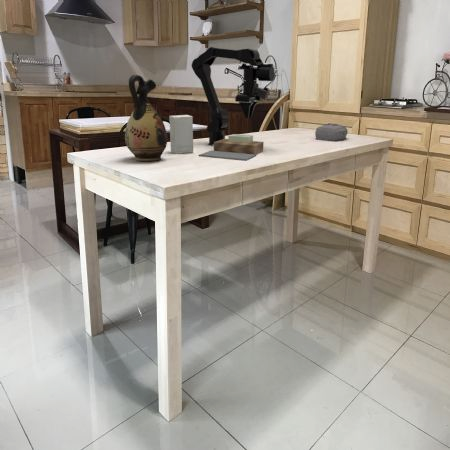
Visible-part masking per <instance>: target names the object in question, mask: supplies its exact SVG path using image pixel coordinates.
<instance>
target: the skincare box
mask: <svg viewBox="0 0 450 450" xmlns="http://www.w3.org/2000/svg"><path fill="white" fill-rule="evenodd" d="M193 118H194V116H192V115H189V114H179V115H169V137H170V139H169V141H170V152H171V153H173V154H187V153H188V154H189V153H194V128H193Z"/></svg>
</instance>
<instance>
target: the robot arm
mask: <svg viewBox="0 0 450 450" xmlns="http://www.w3.org/2000/svg"><path fill="white" fill-rule="evenodd" d="M217 58H220V59H221V58H222V59H231V60H236V61H239V62H241V63H242V64H241V65H240V66H239V67H238V69H239V70H243V82H242V83H241V86H242V92H241V94H237V95H235V99H234V101H235V102H238V104H239V105H240V108H241V110H242V112H243V115H244V117H245V119H251V118H252V116H253V114H254V110H255V107H256V105H258V104H259V103H260V101H263V100H267V99H268V98H269V96H270V94H271V91H270V89H269V88H268V87H267V86H266V87H263V88H262V87H259V83H257V82H273V81H274V80H275V76H276V72H275V68H274V64H273V63H267V64H266V63H264V62H263V60H262V58H261V56H260V53H259V51H258V50H257V49H253V48H242V49H228V48H226V49H225V48H219V47H215V46H210V47H208V49H206V50H205V51H204V52H203V53H201V54H200V55H199V56H198V57H196V58H194V59H193V60H192V61H191V69H192V70H193V72H194V74H195V76H196V77H197V78H198V79H199V81H200V83H201V86H202V88H203V91H204V94H205V97H206V100H207V103H208V106H209V108H210V121H211V122H210V123H209V124H208V125H207V126H206V130H207V132H209V133H208V134H209V136H208V143H207V145H210V146H214V142H216V141H219V140H223V139H226V134H225V131H226V130H227V127H228V126H229V124H230V119H231V118H230V116H229V113H228V110H227V109H224V108H223V107H222V106H221V103H220V100H219V96H218V94H217V91H216V88H215V86H214V83H213V81H212V80H213V79H212V76H211V75H212V67H211V66H212V65H213V64H214V62H215V61H216V59H217ZM248 64H249V65H248Z"/></svg>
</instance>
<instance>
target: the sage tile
mask: <svg viewBox="0 0 450 450" xmlns="http://www.w3.org/2000/svg"><path fill="white" fill-rule="evenodd" d="M227 139H228V142H240V143H250V142H253V141H254V135H250V134H248V135H247V134H240V133H239V134H237V133H232V134H230V135H228V137H227Z"/></svg>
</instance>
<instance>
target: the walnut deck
mask: <svg viewBox="0 0 450 450" xmlns="http://www.w3.org/2000/svg"><path fill="white" fill-rule="evenodd" d="M213 151H223V152H233V153H244V154H255V155H256V156H257V155H258V154H260V153H262V152H263V151H264V141H257V140H253V142H250V143H240V142H228V138H225V139H223V140H219V141H216V142H214V145H213Z"/></svg>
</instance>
